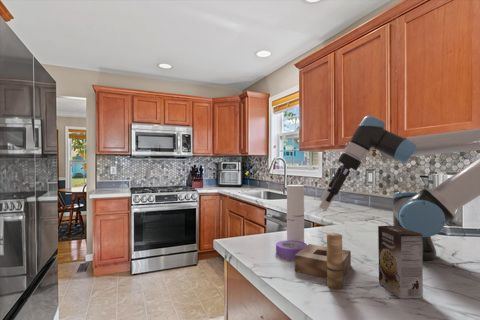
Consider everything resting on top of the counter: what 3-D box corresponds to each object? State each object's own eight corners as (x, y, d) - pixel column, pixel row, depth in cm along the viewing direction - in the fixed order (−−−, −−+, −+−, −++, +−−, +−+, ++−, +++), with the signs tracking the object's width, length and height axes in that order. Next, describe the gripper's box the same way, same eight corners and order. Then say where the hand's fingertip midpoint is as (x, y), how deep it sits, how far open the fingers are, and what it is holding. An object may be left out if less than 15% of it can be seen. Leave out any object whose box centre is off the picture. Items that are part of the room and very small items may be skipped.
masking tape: (273, 257, 95) (273, 247, 95) (279, 248, 106) (279, 238, 106) (306, 261, 91) (305, 250, 91) (309, 251, 102) (308, 241, 102)
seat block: (350, 266, 86) (350, 250, 86) (341, 281, 74) (341, 263, 74) (309, 258, 94) (309, 244, 94) (294, 271, 82) (294, 254, 82)
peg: (344, 285, 72) (343, 234, 72) (341, 291, 69) (340, 237, 69) (329, 281, 74) (328, 232, 75) (325, 287, 71) (324, 235, 71)
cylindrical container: (304, 247, 106) (304, 186, 106) (286, 246, 107) (286, 185, 108) (303, 242, 113) (303, 184, 113) (287, 241, 114) (286, 184, 115)
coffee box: (377, 283, 73) (376, 225, 74) (399, 282, 74) (398, 225, 74) (400, 299, 64) (399, 233, 65) (424, 298, 65) (423, 233, 65)
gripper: (340, 151, 109) (314, 194, 113) (345, 151, 85) (312, 206, 89) (358, 160, 107) (330, 203, 111) (367, 163, 83) (332, 218, 87)
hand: (322, 204), depth 100 cm, fingers open, 13 cm apart
